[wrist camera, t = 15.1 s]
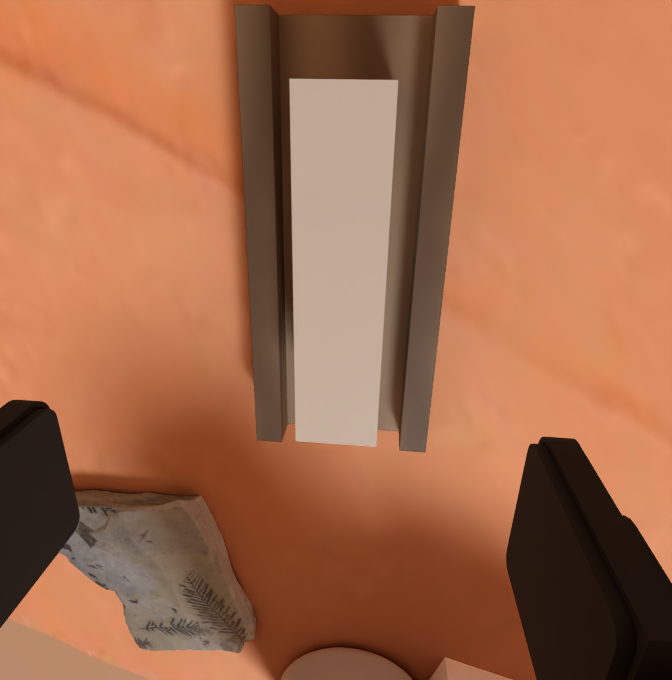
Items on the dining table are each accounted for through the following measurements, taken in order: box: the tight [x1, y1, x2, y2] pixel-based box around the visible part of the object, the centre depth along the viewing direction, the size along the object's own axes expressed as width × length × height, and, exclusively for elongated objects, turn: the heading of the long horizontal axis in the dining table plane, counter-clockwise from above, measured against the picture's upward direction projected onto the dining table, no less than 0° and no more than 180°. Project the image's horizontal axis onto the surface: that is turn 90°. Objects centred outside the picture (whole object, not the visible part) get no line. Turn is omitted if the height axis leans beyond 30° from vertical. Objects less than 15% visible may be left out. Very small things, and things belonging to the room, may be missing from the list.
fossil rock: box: [59, 490, 257, 653], centre depth 39 cm, size 18×15×2 cm
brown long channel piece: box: [235, 5, 475, 452], centre depth 27 cm, size 10×22×4 cm, turn 179°
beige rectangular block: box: [289, 79, 398, 447], centre depth 24 cm, size 4×16×6 cm, turn 179°
